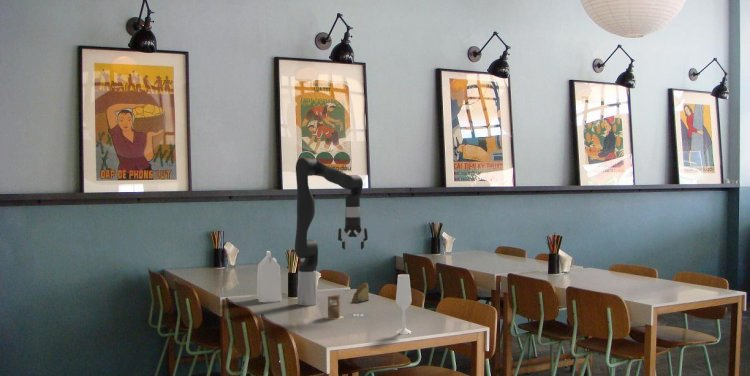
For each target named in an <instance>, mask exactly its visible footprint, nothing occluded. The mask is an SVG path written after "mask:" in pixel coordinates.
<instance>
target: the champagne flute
mask: <svg viewBox="0 0 750 376" xmlns="http://www.w3.org/2000/svg"><path fill="white" fill-rule="evenodd" d="M396 281H397V284H396V293H395V303H396V305H397V306H398V307H399V308H400V309H401V310H402V315H401V316H402V317H401V318H402V327H401V328H400V329H399V330H396V332H395V333H396V334H399V333H400V335H407V334H408V333H409V334H412V333H411V332H412V331H411V330H410V329H407V328H406V310H407V308H409V307H410V306H411V304H412V301H413V299H412V289H411V280H410V274H407V273H406V274H405V273H404V274H403V273H401V274H398V275H397V280H396Z"/></svg>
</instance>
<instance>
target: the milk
mask: <svg viewBox="0 0 750 376" xmlns="http://www.w3.org/2000/svg"><path fill="white" fill-rule="evenodd" d="M256 276H257V278H256V279H257V280H256V300H257V299H258V300H259V301H258V300H257V301H258V303H260V302H263V303H276V302H277V303H278V301H280V302H283V301H282V300H283V299H282V298H283V297H282V281H281V280H282V277H281V266H280V264H279V263H278V260H277V259H276V258H275V257H273V256H272V252H271V251H270V250H267V251H266V256H264V258H263V259H262V260H261V261H260V262H259V263H258V265H257V275H256Z"/></svg>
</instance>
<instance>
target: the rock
mask: <svg viewBox="0 0 750 376" xmlns="http://www.w3.org/2000/svg"><path fill="white" fill-rule="evenodd" d="M369 290H370V289H369V283H368V282H363V283H360V284H359V285H357V289H356V291H355V292H354V293H353V297H352V299H351V302H352V303H359V301H361V302H367V301H366V300H368V301H369V300H370V298H369V292H370V291H369Z"/></svg>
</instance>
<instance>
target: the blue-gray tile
mask: <svg viewBox="0 0 750 376" xmlns="http://www.w3.org/2000/svg"><path fill="white" fill-rule="evenodd" d="M372 316H373V312H347V313H346V314H345V316H344V318H355V319H356V318H357V319H358V318H362V319H364V318H366V319H369V318H370V319H371V317H372Z"/></svg>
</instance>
